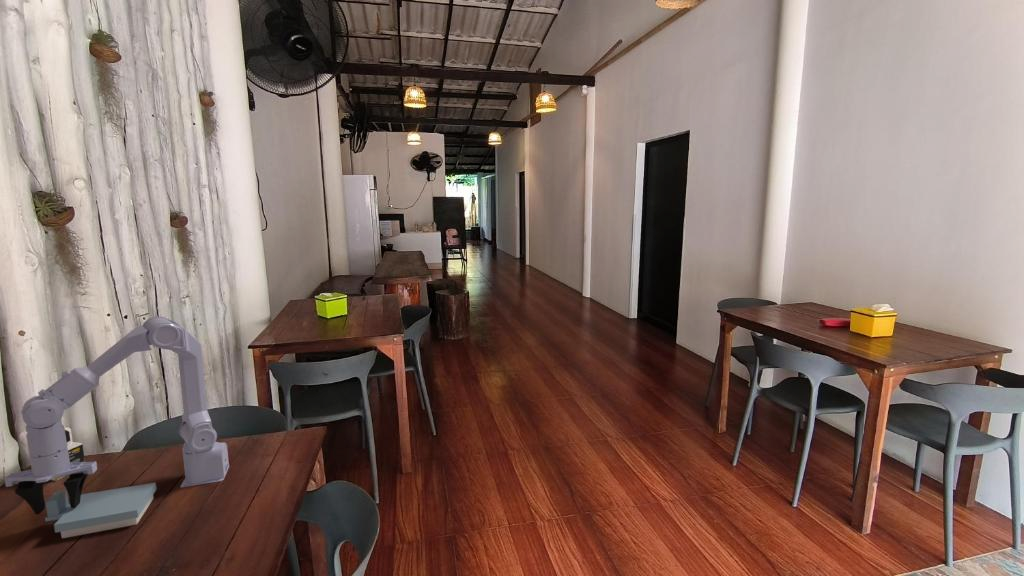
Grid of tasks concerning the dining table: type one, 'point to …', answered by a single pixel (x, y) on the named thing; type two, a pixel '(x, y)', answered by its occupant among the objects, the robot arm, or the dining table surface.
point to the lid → (98, 507)
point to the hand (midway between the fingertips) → (58, 508)
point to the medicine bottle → (73, 450)
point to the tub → (105, 525)
